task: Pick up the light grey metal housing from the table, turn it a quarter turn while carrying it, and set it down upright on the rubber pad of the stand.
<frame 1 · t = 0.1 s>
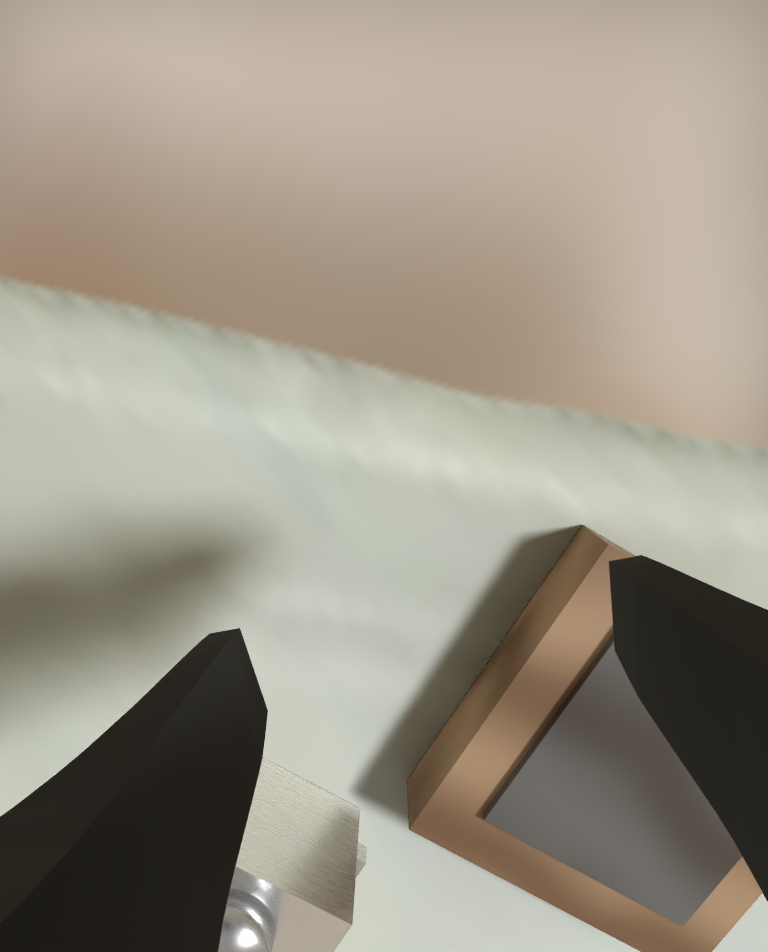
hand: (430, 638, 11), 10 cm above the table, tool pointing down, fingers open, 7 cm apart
housing: (262, 811, 23), on the table
stand: (623, 733, 22), on the table
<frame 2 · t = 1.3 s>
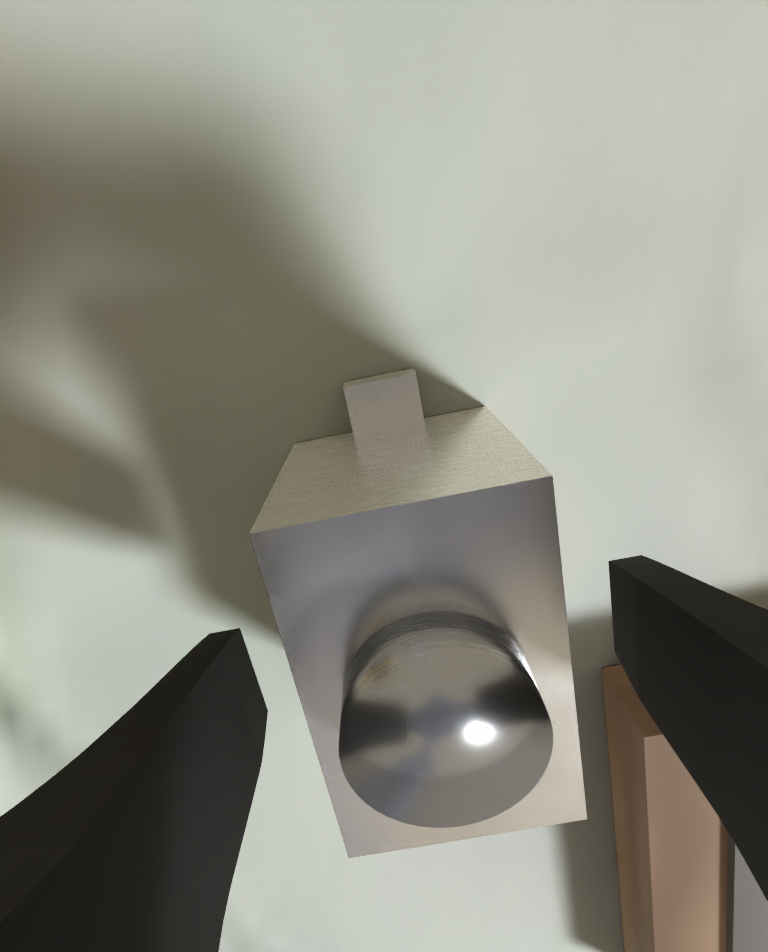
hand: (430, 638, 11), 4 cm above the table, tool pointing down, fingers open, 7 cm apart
housing: (415, 555, 14), on the table
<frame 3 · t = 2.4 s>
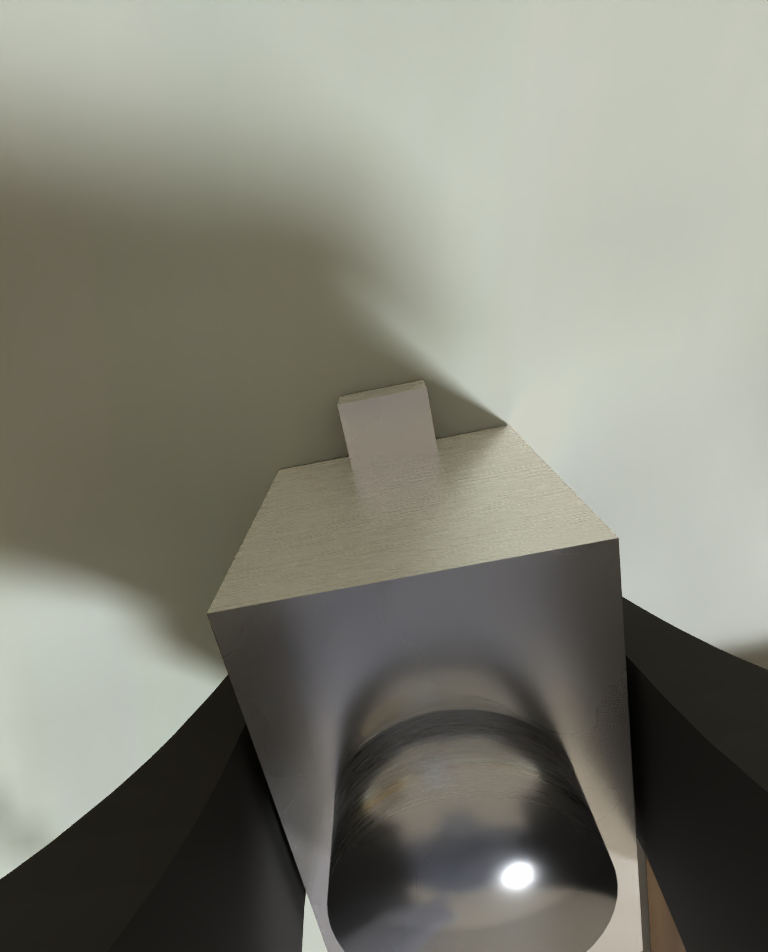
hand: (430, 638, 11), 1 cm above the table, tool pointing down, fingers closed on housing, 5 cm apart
housing: (423, 599, 12), on the table, touching gripper
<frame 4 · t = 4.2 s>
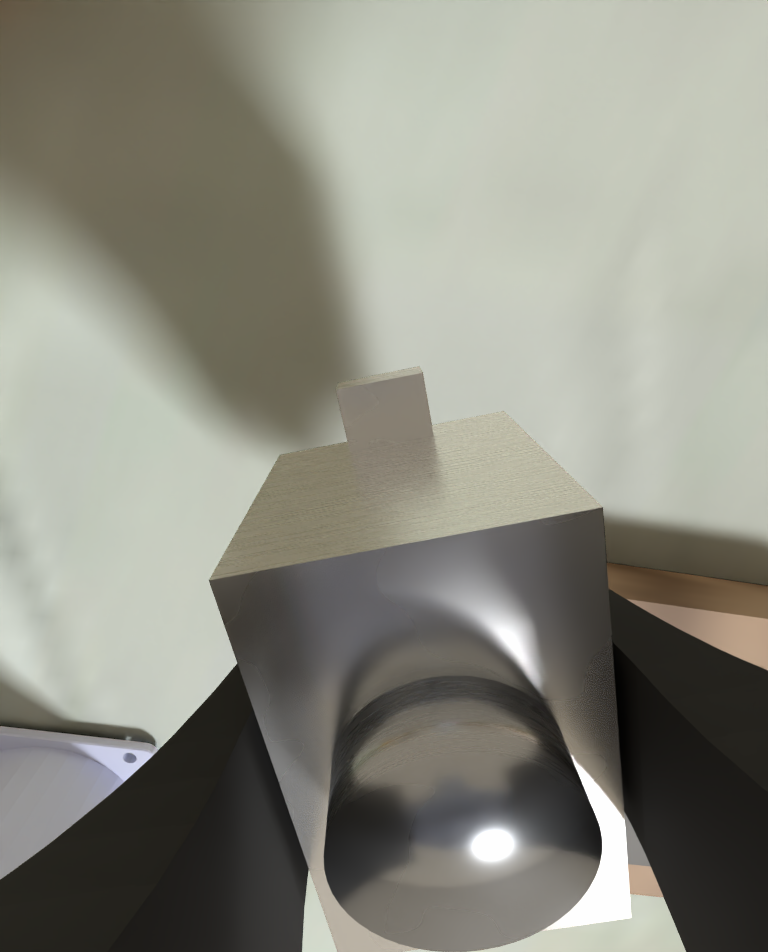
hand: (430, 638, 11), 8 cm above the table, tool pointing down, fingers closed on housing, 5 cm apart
housing: (420, 582, 12), point 7 cm above the table, touching gripper
stand: (573, 708, 22), on the table
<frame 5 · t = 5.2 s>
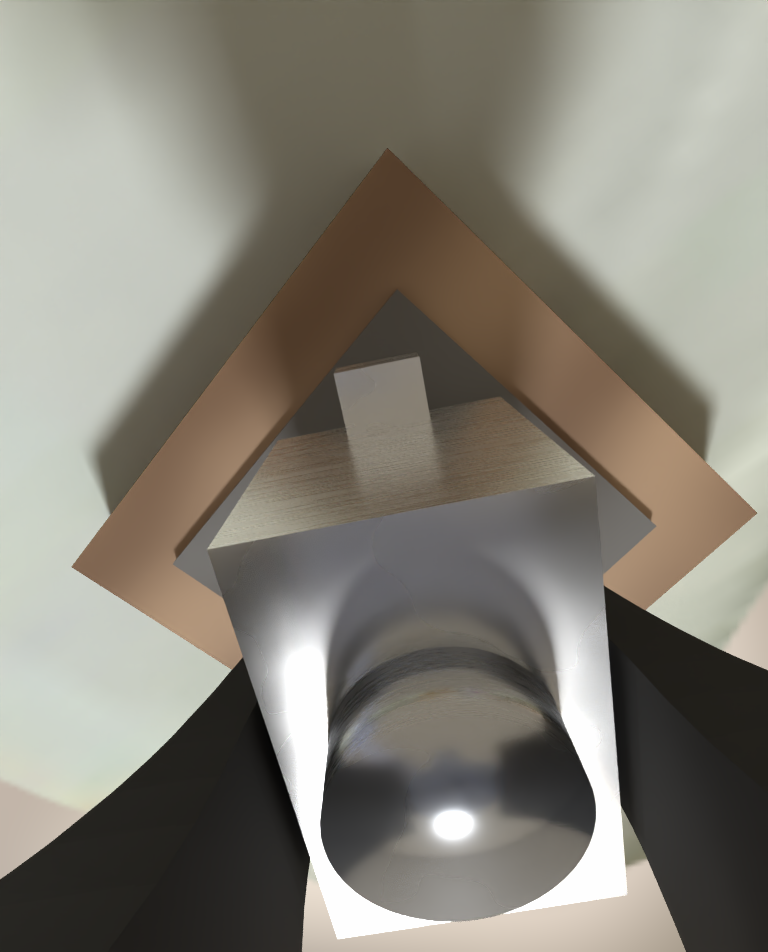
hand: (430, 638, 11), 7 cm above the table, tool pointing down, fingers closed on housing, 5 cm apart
housing: (417, 569, 12), point 5 cm above the table, touching gripper
stand: (407, 504, 17), on the table
when the fingers open (6 cm above the table, at t = 5.8 s): housing stays where it is, resting on stand.
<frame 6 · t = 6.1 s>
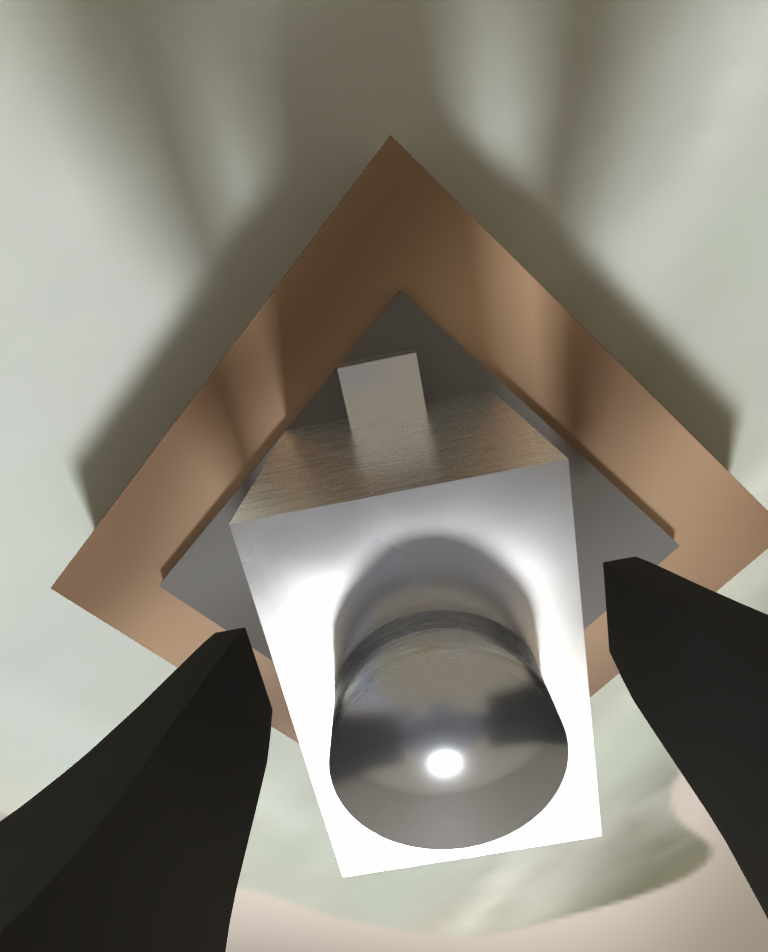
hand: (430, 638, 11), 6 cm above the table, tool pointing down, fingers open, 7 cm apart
housing: (415, 550, 13), point 3 cm above the table, touching stand
stand: (410, 518, 16), on the table
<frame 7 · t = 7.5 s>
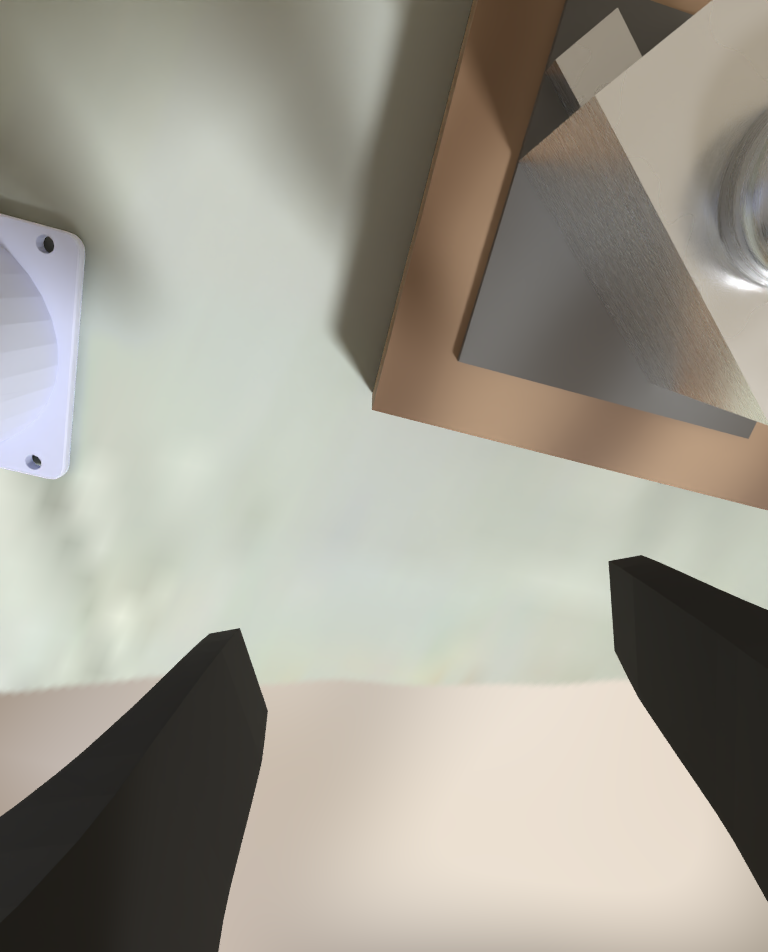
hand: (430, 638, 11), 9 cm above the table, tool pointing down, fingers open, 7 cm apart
housing: (665, 222, 14), point 3 cm above the table, touching stand
stand: (626, 244, 17), on the table
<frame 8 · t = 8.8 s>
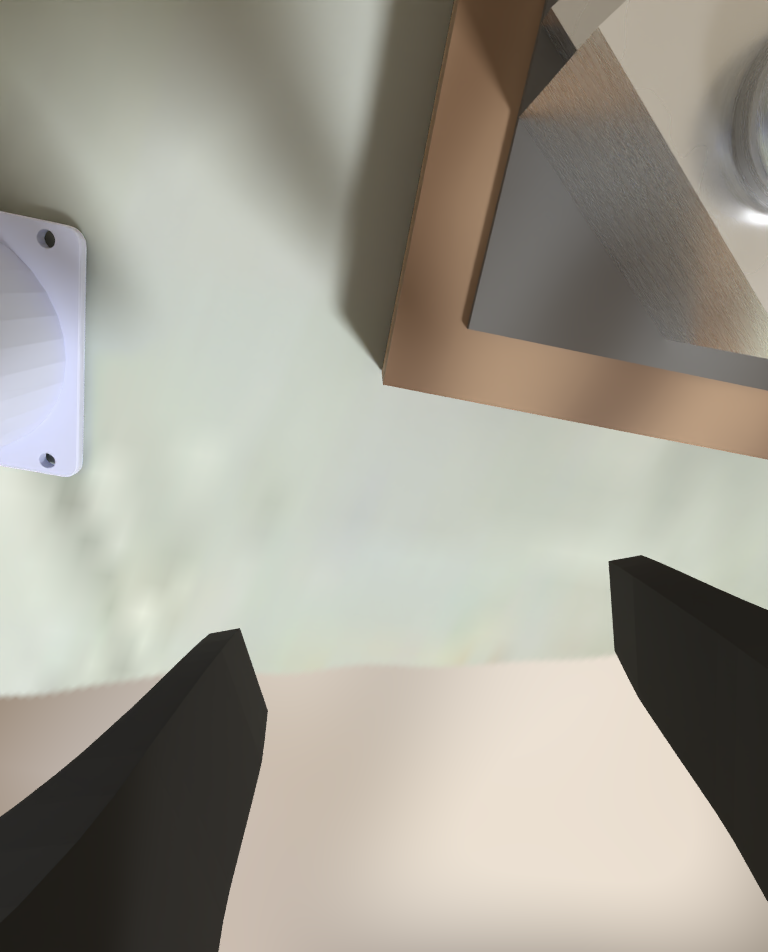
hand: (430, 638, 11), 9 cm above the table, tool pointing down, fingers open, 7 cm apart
housing: (672, 171, 14), point 3 cm above the table, touching stand
stand: (632, 201, 17), on the table
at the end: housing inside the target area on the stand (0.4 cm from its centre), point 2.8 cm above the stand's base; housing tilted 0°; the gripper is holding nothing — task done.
